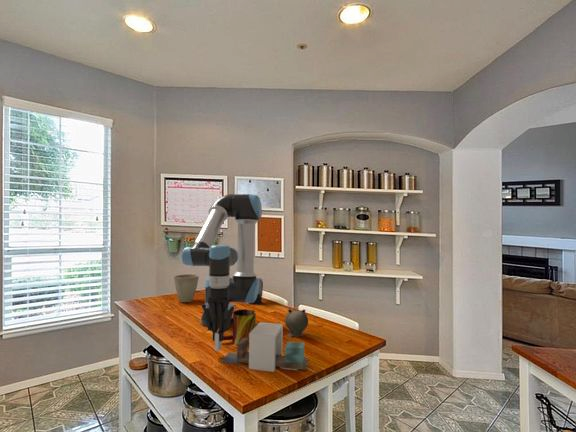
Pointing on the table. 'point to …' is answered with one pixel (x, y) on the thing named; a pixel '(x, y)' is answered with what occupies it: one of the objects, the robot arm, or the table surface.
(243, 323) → the mug
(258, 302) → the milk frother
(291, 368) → the pad
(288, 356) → the sled
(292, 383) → the table surface
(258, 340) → the upright grey pillar
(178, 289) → the plant pot
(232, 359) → the pit pad
